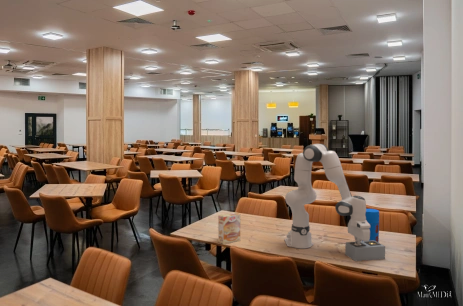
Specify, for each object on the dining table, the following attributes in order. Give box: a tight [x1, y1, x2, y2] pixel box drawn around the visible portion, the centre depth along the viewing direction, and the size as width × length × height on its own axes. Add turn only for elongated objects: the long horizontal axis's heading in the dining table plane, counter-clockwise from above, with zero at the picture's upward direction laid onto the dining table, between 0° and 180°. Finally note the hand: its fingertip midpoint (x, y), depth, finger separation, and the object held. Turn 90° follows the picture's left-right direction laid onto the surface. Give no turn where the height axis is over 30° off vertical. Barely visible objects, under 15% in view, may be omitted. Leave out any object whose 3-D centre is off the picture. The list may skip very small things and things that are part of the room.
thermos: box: [361, 208, 380, 243], centre depth 250 cm, size 11×11×25 cm
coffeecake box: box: [217, 212, 242, 245], centre depth 263 cm, size 15×7×20 cm, turn 126°
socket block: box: [344, 240, 386, 262], centre depth 232 cm, size 20×12×8 cm, turn 101°
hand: (357, 244), depth 230 cm, fingers closed, pressing on nylon peg
